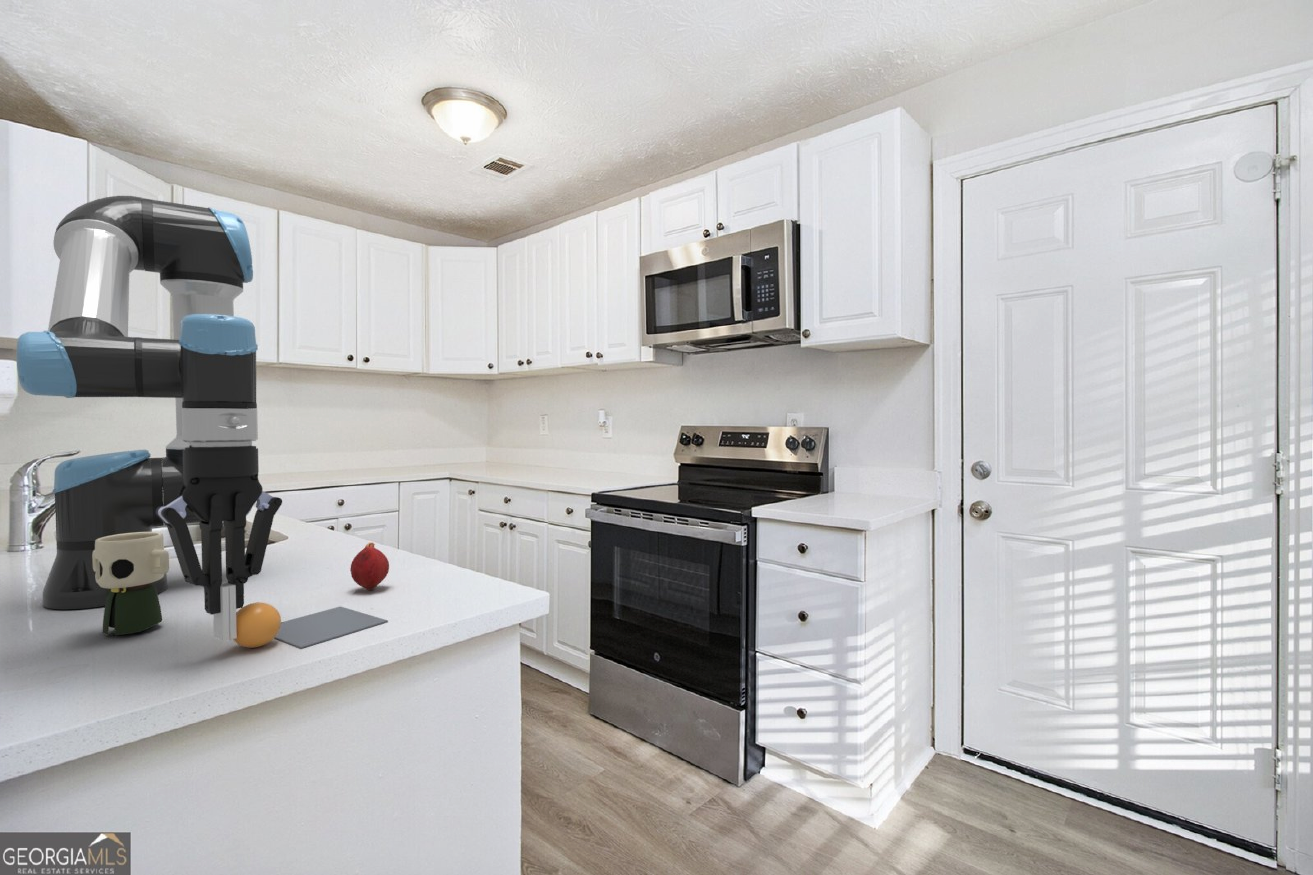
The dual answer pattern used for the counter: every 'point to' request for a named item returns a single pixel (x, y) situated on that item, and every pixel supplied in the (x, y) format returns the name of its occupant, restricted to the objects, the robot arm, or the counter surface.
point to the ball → (256, 624)
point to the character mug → (130, 579)
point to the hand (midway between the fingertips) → (225, 637)
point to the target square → (324, 626)
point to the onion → (369, 567)
